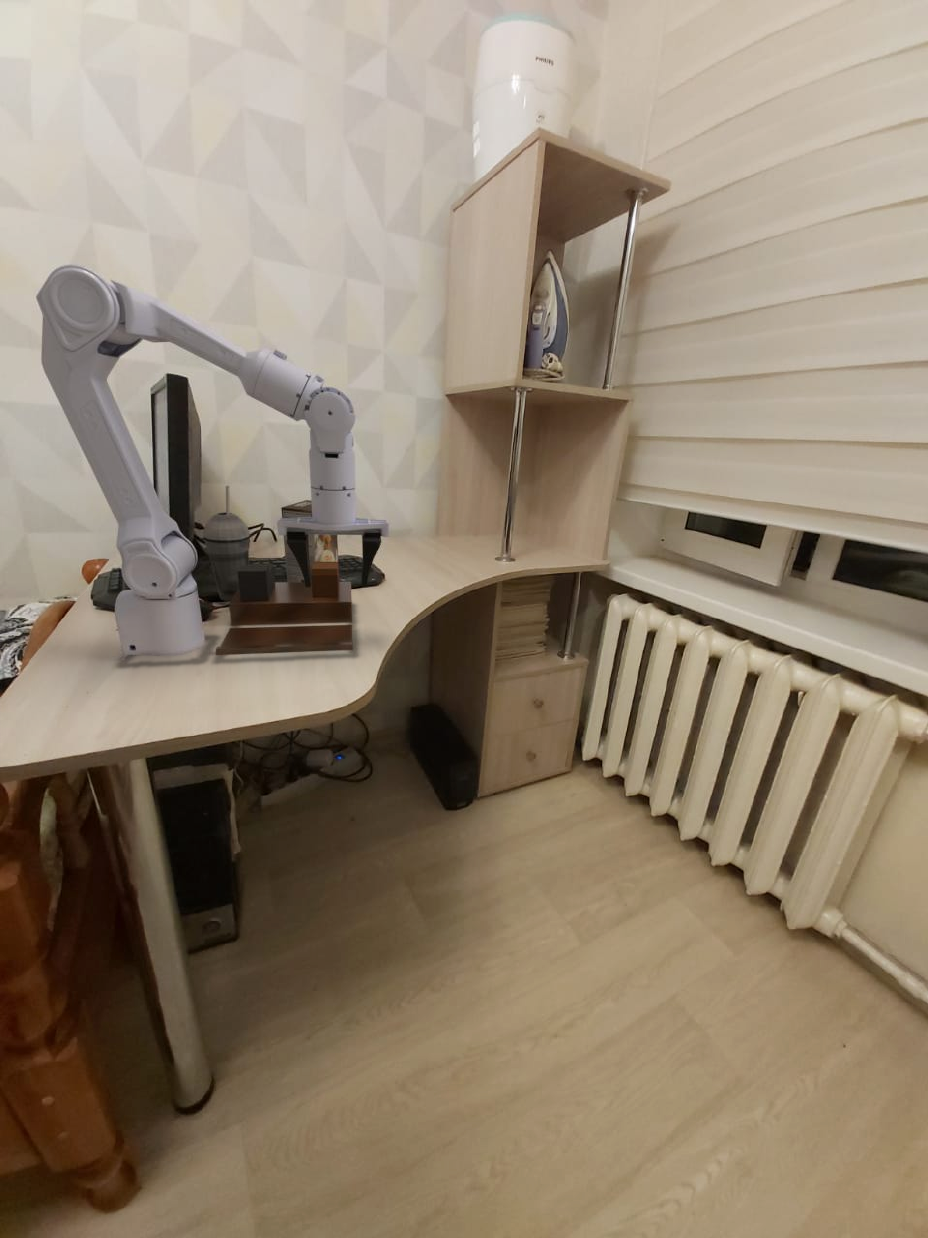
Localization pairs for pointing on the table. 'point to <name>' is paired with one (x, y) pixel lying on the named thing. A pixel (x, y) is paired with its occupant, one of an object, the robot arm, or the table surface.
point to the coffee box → (319, 545)
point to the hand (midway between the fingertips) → (336, 584)
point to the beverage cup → (227, 549)
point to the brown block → (325, 579)
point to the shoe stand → (290, 621)
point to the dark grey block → (256, 582)
